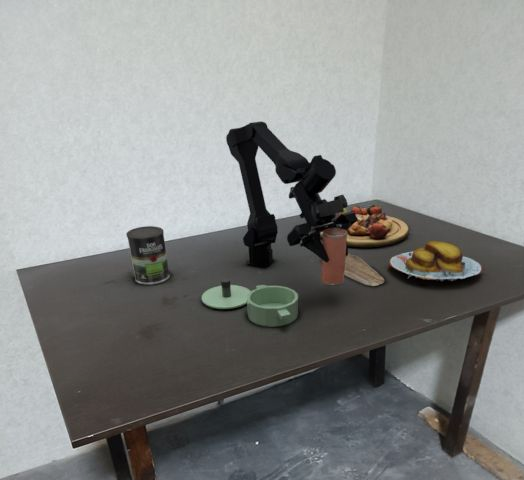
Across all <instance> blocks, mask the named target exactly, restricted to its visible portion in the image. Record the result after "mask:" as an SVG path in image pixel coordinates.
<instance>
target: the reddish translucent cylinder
mask: <svg viewBox="0 0 524 480" xmlns="http://www.w3.org/2000/svg"><path fill="white" fill-rule="evenodd" d="M321 242H322V245H323V247H324V249H325V251H326V253H327V255H328V258H329V261H328V262H325V261H323V260H322V259H321V270H320V283H321V284H322V285H324V286H327V287H339V286H341V285H343V284H344V283H345V275H344V272H345V257H346V242H347V231H346V230H344V229H341V228H328V229H325V230H323V239H322V241H321Z"/></svg>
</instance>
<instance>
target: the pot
mask: <svg viewBox="0 0 524 480" xmlns="http://www.w3.org/2000/svg"><path fill="white" fill-rule="evenodd" d="M255 287H256V288H255V289H252V290H250V291H251V292H250V293H249V294H248V295H247V304H246V308H247V312H246V313H247V317H248V320H249V321H251V322H252V323H253V324H256V325H258V326H262V327H276V328H277V327H283V326H286V325H289V324H291V323H293V322H294V321H296V319H297V318H298V316H299V294H298V292H296V291H295V290H294V289H293V288H290V287H287V286H281V285H266V284H264V283H263V284H258V285H256V286H255Z"/></svg>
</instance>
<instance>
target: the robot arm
mask: <svg viewBox="0 0 524 480" xmlns="http://www.w3.org/2000/svg"><path fill="white" fill-rule="evenodd" d="M225 141H226V145H227V146H228V149H229V152H230V155H231V156H232V157H233V158H234V160H235V161H236V162H237V163H238V166H239V170H240V175H241V180H242V184H243V189H244V193H245V197H246V201H247V206H248V210H249V216H248V219H247V223H246V226H247V231H246V233H245V234H244V236H243V237H242V242H243V245H244V246H245V247H247V248H248V261H247V262H246V265H247V266H251V267H252V266H253V267H258V268H263V269H264V268H267V267H268V266H269V265H270V264H272V263H273V262H274V261H275V260H274V256H273V255H274V254H273V250H274V249H273V248H272V244H276V240H277V236H278V228H279V227H278V224H277V221H276V216H275V214H274V213H270V211H269V210H268V209H267V207H266V206H267V205H266V200H265V196H264V192H263V187H262V182H261V179H260V174H259V168H258V165H257V160H256V157H257V154H258V150H259V149H260V150H261V151H262V152H263V153H264V154H265V155H266V156H267V158H269V160H270V161H271V162H272V163H273V165H274V166H275V174H276V175H277V176H278V179H279V180H280V181H281V182H282V183H283V184H285V185H288V184H289V185H290V184H295V185H294V186H291V187H290V188H289V189H290V190H289V193H288V199H289V200H290V199H295V202H296V203H297V206H298V207H299V210H300V214H299V217H300V219H304V220H305V222H304V223H300V224H297V225H294V227H292V229H291V230H290V231H289V233H288V234H287V236H286V241H287V243H288V245H289V247H294V246H297V245H299V246H300V247H301V248H302V247H304V248H305V249H307V250H308V251H310V252H311V253H313V254H314V255H315V256H317V257H318V258H320V259H321V261H322V260H323V261H325V262H328V261H329V258H328V255H327V253H326V251H325V249H324V247H323V245H322V242H323V241H322V240H321V237H320V233H321V232H323V230H325V229H328V228H341V229H344V230H346V231H347V230H348V229H349V228H350V227H351V226H352V225H353V224H354V223H355V222H356V221H357V220H358V218H357V216H356V214H355V213H354V212H351V211H348V212H347V213H343V214H341V215H340V216H339V217H338V218H337V219H336V220H335V221H332V219H333V218H335V217H336V215H335V214H336V213H339V212H341V213H342V212H344V208H345V209H347V208H348V205H349V204H348V200H347V198H346V197H345V195H344V194H339V195H336V196H334V197H333V199H332V200H327V199H326V198H323V199H322V198H321V195H320V193H322V192H323V191H324V190H325V189H326V188H327V187H328V185H329V184H330V183H331V182H332V181H333V180H334V178H335V177H336V176H337V175H336V174H337V169H336V167H335V165H334V164H332V163H331V162H330V161H329V160H327V159H326V158H323V156H322V154H318V155H313V157H312V158H311V159H310V160H311V161H309V160H308V159H307V158H306V157H305V156H303V155H302V154H300V153H299V152H295V151H293V150H290V149H289V148H288V147H287V146H286V145H285V144H284V143H283V142H282V141H281V140H280V138H278V137H277V136H276V135H275V134H274V133H273V131H272V130H270V128H269V127H268V124H267V123H266V122H265V121H263V120H260V121H254V122H249V123H246V124H245V125H244V126H241V127H235V128H230V129H229V130H228V132H227V134H226V137H225ZM348 247H349V246H347V242H346V256H347V255H348V253H349V249H348Z"/></svg>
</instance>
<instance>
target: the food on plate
mask: <svg viewBox="0 0 524 480" xmlns="http://www.w3.org/2000/svg"><path fill="white" fill-rule="evenodd" d="M388 267H391V268H394V269H395V270H396V271H399V272H401V273H405V274H406V275H408V277H407V279H410V277H413V276H414V277H415V279H418V278H419V279H422V280H427V281H429V280H432V281H433V280H434V281H440V282H444V281H445V280H447V281H451V282H453V281H456V280H458V279H459V280H463V279H466V278H469V277H473V276H477V275H480V274H481V273H482V272H483V267H482V265H481V263H479V262H478V261H477V260H475V259H473V258H470V257H468V256H464V255H463V253H462V250H461V249H460V247H458V246H456V245H455V244H452V243H449V242H446V241H439V240H430V241H426V243H425V245H424V246H422V247H419V248H416V249H414V250H412V251H408V252H407V251H406V252H403V253H399V254H397V255H395V256H392V257H390V259H389V261H388Z"/></svg>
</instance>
